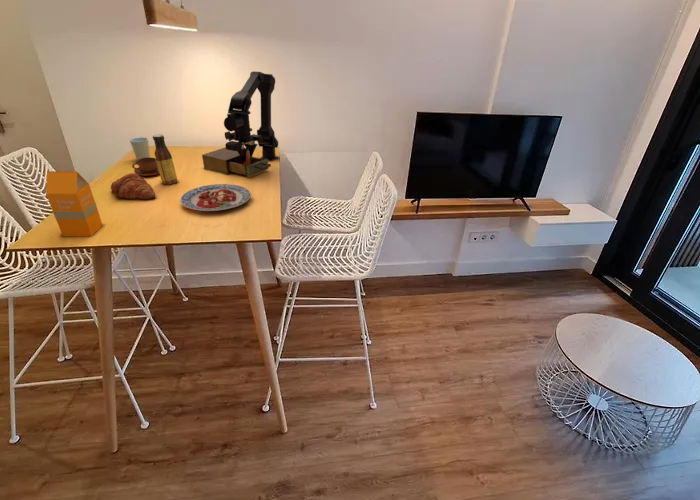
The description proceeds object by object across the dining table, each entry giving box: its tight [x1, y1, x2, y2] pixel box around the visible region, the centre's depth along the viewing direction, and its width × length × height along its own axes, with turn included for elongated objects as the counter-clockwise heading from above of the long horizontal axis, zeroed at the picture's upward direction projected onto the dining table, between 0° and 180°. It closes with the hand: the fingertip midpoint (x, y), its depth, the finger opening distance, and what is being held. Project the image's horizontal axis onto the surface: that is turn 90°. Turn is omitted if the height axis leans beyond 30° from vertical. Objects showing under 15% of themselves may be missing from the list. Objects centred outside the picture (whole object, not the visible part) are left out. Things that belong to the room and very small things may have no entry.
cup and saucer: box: [131, 156, 160, 177], centre depth 170 cm, size 12×12×6 cm
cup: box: [129, 136, 151, 162], centre depth 183 cm, size 8×8×10 cm
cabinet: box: [201, 147, 240, 175], centre depth 180 cm, size 15×15×7 cm
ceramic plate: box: [179, 183, 252, 212], centre depth 147 cm, size 26×26×3 cm
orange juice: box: [45, 170, 103, 237], centre depth 119 cm, size 8×9×20 cm
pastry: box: [110, 172, 156, 201], centre depth 149 cm, size 17×15×8 cm
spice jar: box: [243, 149, 251, 166], centre depth 174 cm, size 3×3×8 cm
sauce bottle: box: [152, 133, 178, 185], centre depth 158 cm, size 7×6×20 cm
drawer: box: [227, 156, 272, 178], centre depth 175 cm, size 18×13×5 cm
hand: (246, 161), depth 174 cm, fingers closed on spice jar, 3 cm apart
